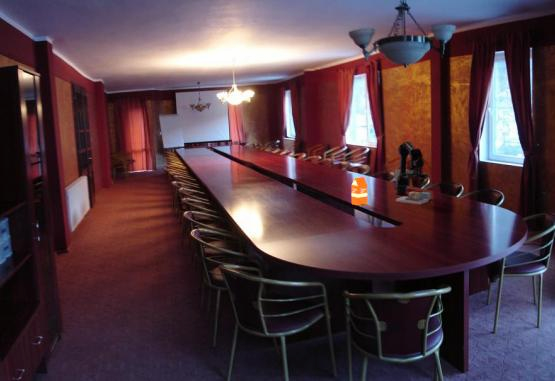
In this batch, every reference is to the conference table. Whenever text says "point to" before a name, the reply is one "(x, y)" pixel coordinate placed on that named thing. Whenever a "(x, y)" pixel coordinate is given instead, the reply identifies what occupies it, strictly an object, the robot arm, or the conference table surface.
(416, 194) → the birch block
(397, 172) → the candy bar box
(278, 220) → the conference table surface
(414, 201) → the grey tray
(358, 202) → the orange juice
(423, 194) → the teal block
